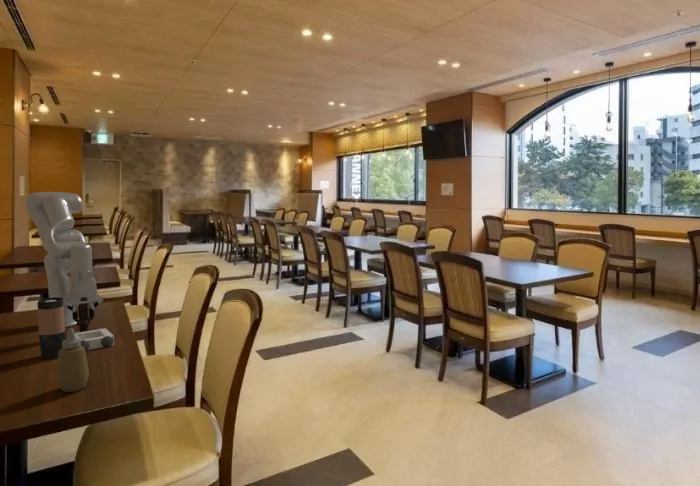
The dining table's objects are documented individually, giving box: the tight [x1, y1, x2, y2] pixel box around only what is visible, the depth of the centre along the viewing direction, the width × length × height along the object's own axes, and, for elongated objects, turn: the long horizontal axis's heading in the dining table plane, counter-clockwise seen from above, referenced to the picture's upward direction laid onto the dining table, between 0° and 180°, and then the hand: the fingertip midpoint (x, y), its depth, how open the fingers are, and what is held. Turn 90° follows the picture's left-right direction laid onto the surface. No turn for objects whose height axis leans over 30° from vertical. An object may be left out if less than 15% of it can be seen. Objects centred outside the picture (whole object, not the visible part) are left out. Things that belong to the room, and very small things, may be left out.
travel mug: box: [36, 297, 66, 360], centre depth 162 cm, size 8×8×20 cm
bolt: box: [76, 297, 92, 332], centre depth 186 cm, size 6×5×15 cm
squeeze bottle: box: [56, 327, 90, 393], centre depth 135 cm, size 8×8×18 cm
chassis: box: [74, 327, 115, 352], centre depth 175 cm, size 15×13×4 cm
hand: (83, 319), depth 186 cm, fingers closed on bolt, 4 cm apart
